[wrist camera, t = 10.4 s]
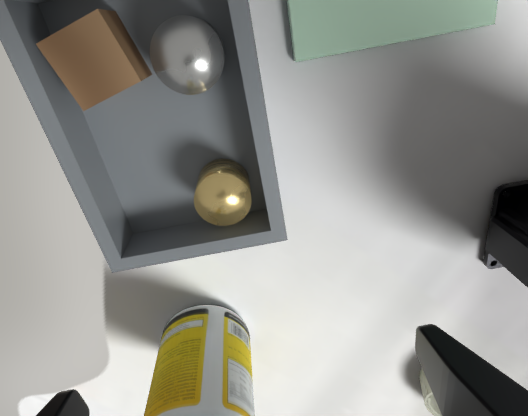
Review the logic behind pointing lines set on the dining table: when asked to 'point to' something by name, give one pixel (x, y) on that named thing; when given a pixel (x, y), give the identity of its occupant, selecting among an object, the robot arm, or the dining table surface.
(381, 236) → the dining table surface
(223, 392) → the pill bottle
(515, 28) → the dining table surface
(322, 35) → the grooved mint slab
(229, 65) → the tub
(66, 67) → the walnut block
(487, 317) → the dining table surface
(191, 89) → the chrome dome knob
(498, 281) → the dining table surface
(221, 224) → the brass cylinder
